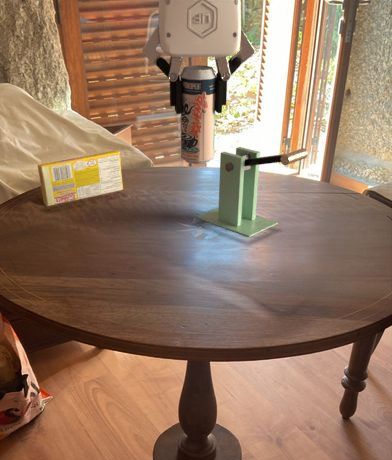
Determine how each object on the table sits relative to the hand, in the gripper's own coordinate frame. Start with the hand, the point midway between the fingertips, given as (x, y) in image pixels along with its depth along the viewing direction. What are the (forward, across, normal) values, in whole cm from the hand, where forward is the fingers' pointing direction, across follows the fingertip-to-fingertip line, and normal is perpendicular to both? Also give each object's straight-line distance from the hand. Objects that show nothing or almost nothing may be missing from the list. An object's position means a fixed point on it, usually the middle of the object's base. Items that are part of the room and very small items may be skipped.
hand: (197, 109), depth 77 cm
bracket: (+22, +9, +12) cm, 26 cm away
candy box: (+22, -18, +27) cm, 39 cm away
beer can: (+7, 0, 0) cm, 7 cm away
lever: (+11, +12, +8) cm, 18 cm away
